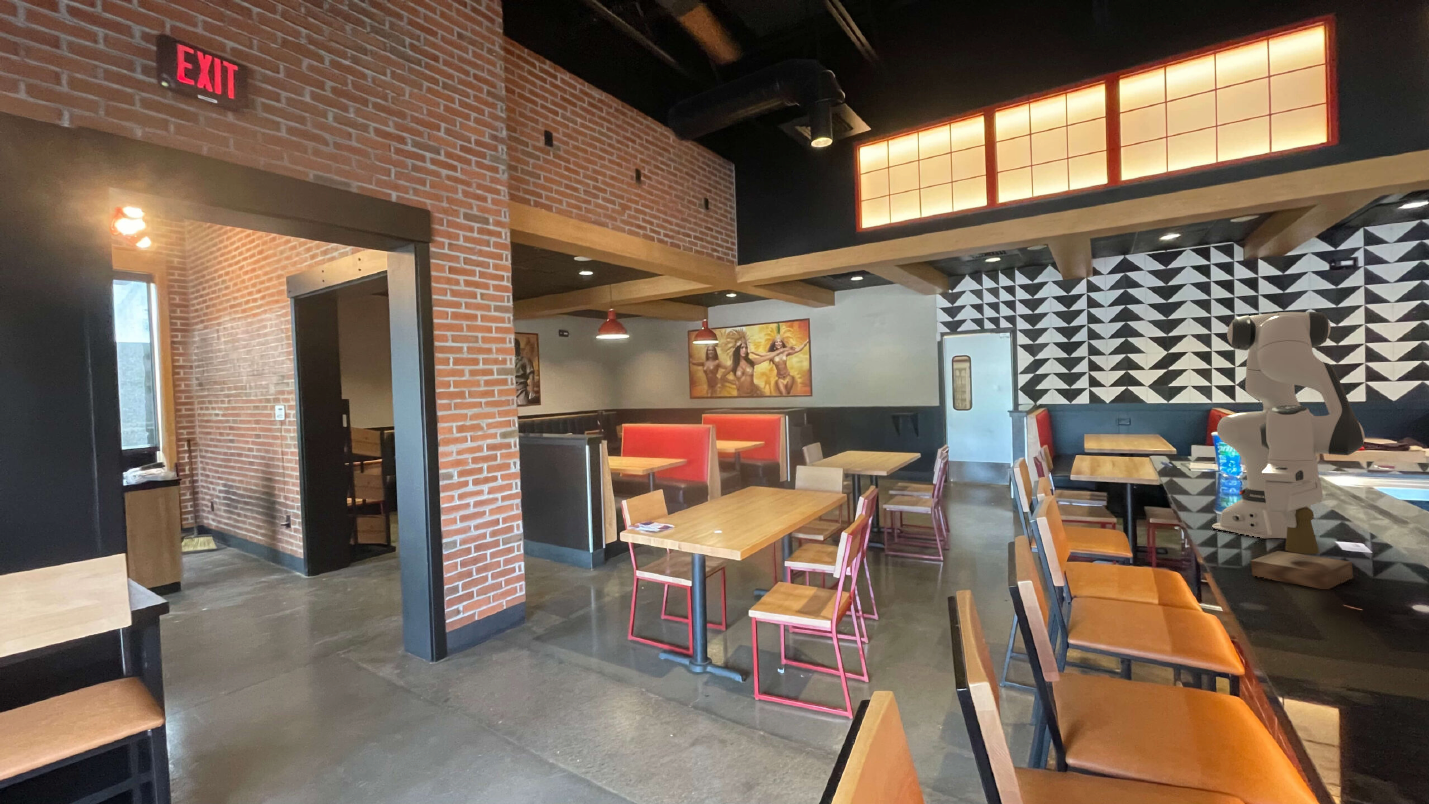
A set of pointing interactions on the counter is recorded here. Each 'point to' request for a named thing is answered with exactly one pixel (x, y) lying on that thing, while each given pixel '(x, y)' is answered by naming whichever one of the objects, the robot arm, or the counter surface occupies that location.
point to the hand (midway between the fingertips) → (1297, 525)
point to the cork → (1302, 534)
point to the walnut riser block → (1302, 569)
